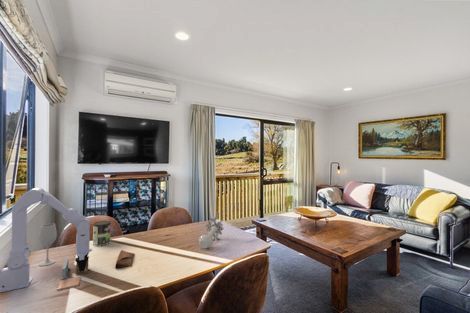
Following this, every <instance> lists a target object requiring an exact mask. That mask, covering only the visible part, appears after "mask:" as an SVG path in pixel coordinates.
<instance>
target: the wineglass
mask: <svg viewBox="0 0 470 313" xmlns="http://www.w3.org/2000/svg"><path fill="white" fill-rule="evenodd" d="M39 228H40V229H39V233H38V241H39V243H40V244H41V245H43V246H45V247H46V260H44V261H40V262H39V263H38V266H39V267H45V266H46V265H47V266H51V265H53V264H55V263H56V259H49V248H50V246H51V245H52V244H53V243H54V242H55V241H56V239H57V235H58V232H57V227H56V223H55V222H53V223H51V222H50V223H45V224H42V225H40V227H39Z"/></svg>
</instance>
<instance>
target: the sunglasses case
mask: <svg viewBox="0 0 470 313" xmlns="http://www.w3.org/2000/svg"><path fill="white" fill-rule="evenodd" d="M134 257H135V253H134V252H128V251H125V250H124V249H122V250H120V252H119V254H118V256H117V259H116V261H115V265H114V266H115V267H114V268H115V269H116V270H119V269H125V268H131V267H133V260H134Z"/></svg>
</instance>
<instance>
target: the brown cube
mask: <svg viewBox="0 0 470 313" xmlns="http://www.w3.org/2000/svg"><path fill="white" fill-rule="evenodd" d="M75 263H76V264H75V266H76V267H75V275H76V276H77V275H81V274H86V273H88V272H89V259H88V260H87V262H86V267H85V270H84V271H81V272H79V268H78V264H77V262H75Z"/></svg>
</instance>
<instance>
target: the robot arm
mask: <svg viewBox="0 0 470 313" xmlns="http://www.w3.org/2000/svg"><path fill="white" fill-rule="evenodd" d="M38 203H39V204H40V205H49V206H50V207H51V208H53V209H55V210H56V211H58V213H61V214H62V218H63V219H64V220H65V221H67V223H69V224H71V225H72V226H75V229H76V234H75V235H76V239H75V255H76V256H77V257H75V258H74V260H75V263H77V264H78V268H79V272H81V271H84V270H85V267H86V262H87V260H88V261H89V258H90V256H89V253H90V252H92V251H93V248H90V238H91V236H90V235H91V233H90V227H91V221H90V219H89V218H88V217H87V216H85V215H83V214H81V213H80V212H78V209H77V208H68V207H67V206H66V205H64V203H62V201H60V200H58V199H57V198H56V197H55V196H54V195H52V194H51V193H50V192H49V191H45V189H44V188H41V187H34V188H33V187H32V189H30V190H27V191H26V192H24V193H22V194H21V195H20V197H19V198H18V199H17V201H16V202H15V203H14V204H13V205H12V207H11V248H10V251H9V257H8V259H7V260H6V267H3V268H1V270H0V293H5V292H9V291H13V290H17V289H23V288H27V287H28V286H30V283H31V281H32V279H33V277H30V272H31V271H30V267H31V266H30V264H31V262H30V260H29V258H30V256H31V252H32V251H31V250H30V248H29V244H28V208H30V207H31V206H32V205H35V204H38Z"/></svg>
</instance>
